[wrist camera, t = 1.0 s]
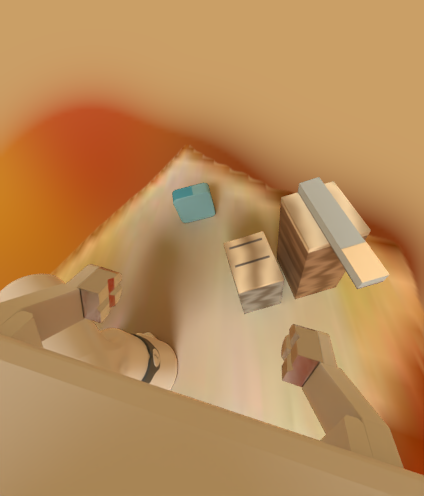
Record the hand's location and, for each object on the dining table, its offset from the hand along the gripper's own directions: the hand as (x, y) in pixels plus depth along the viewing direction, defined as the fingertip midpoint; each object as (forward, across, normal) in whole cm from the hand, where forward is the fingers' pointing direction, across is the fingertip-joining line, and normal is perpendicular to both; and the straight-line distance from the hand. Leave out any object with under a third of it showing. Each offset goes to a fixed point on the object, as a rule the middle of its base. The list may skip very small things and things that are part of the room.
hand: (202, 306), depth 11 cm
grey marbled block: (+47, +9, -35) cm, 59 cm away
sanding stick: (+35, +17, -8) cm, 40 cm away
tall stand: (+51, +21, -29) cm, 63 cm away
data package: (+69, -14, -29) cm, 76 cm away
